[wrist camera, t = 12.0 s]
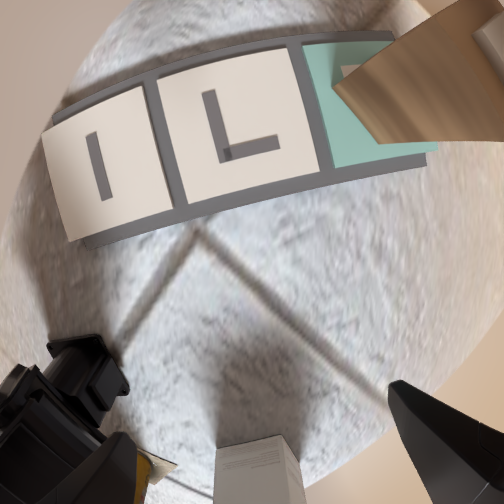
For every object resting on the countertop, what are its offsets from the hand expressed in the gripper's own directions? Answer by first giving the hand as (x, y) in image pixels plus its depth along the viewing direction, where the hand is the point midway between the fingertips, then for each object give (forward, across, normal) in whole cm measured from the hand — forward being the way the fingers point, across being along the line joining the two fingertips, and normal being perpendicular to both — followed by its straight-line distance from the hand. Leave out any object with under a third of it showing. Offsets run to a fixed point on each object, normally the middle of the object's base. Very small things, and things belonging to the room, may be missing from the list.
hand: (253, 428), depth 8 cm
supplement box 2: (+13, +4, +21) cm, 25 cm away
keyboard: (+13, -2, -10) cm, 17 cm away
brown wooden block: (+11, -11, -10) cm, 19 cm away
